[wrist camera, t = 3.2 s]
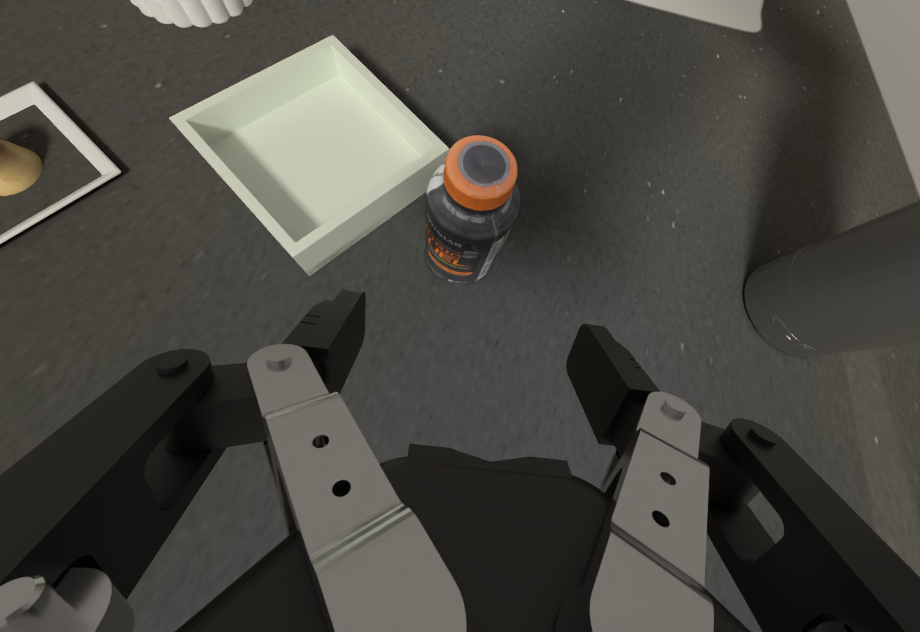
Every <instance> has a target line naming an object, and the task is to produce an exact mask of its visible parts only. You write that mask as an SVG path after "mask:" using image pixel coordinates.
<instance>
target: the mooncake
mask: <svg viewBox="0 0 920 632" xmlns="http://www.w3.org/2000/svg"><path fill="white" fill-rule="evenodd" d="M130 1H131V2H132V3H133V4H134V5H135V6H137V7H139V9H140V10H141V12H142V13H143V14H144V15H146V16H149V17H155V18H156V19H157V20H158V21H159V22H161V23H163V24H171V23H174V24H175V25H177V26H179V27H190V26H192V25H195V26H197V27H207V26H210V25H211V24H212V23H224V22H226V21H228V20H229V18H230V16H238V15H240V14H241V13H242V12H243V10H244V8H243V7H247V6H249V5H251V4H252V2H253V0H130Z"/></svg>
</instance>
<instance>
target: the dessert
mask: <svg viewBox="0 0 920 632" xmlns="http://www.w3.org/2000/svg"><path fill="white" fill-rule="evenodd" d="M31 105H36V106H37V107H38V108H39V109H40V110H41V111H42V112H43V113H44V114H45V115H46V116H47V117H48V118H49V119H50V120H51V122H52V123H53V124H54V125H55V126H56V127H57V128H58V129H59V130H60V131H61V132H62V133H63V134H64V135H65V136H66V137H67V138H68V139H69V140H70V141H71V142H72V143H73V145H74V146H75V147H76V148H77V149H78V150H79V151H80V152H81V153H82V154H83V155H84V156H85V157H86V158H87V159H88V160H89V161H90V162H91V163H92V164H93V165H94V166H95V168H96V169H97V170H98V171H99V172H100V173H101V174H102V176H101V177H99V178H98V179H96V180H94V181H93V182H91V183H89V184H87V185H86V186H84V187H82V188H81V189H79V190H77V191H75V192H74V193H72V194H70V195H69V196H67V197H65V198H63V199H62V200H60V201H58V202H57V203H55V204H53V205H51V206H50V207H48V208H46V209H45V210H43V211H41V212H39V213H38V214H36V215H34V216H33V217H31V218H29V219H27V220H26V221H24V222H22V223H20V224H19V225H17V226H15V227H14V228H12V229H10V230H8V231H7V232H5V233H3V234H2V235H0V244H2V243H3V242H5V241H7V240H8V239H10V238H12V237H13V236H15V235H17V234H19V233H20V232H22V231H24V230H25V229H27V228H29V227H30V226H32V225H34V224H35V223H37V222H39V221H41V220H42V219H44V218H46V217H47V216H49V215H51V214H52V213H54V212H56V211H58V210H59V209H61V208H63V207H64V206H66V205H68V204H69V203H71V202H73V201H74V200H76V199H78V198H80V197H81V196H83V195H85V194H86V193H88V192H90V191H91V190H93V189H95V188H97V187H98V186H100V185H102V184H103V183H105V182H107V181H108V180H110V179H112V178H113V177H115V176H117V175H119V174H120V173H121V170H120V169H119V168H118V167H117V166H116V165H115V164H114V163H113V162H112V161H111V160H110V159H109V158H108V157H107V156H106V155H105V154H104V153H103V152H102V151H101V150H100V149H99V148H98V147H97V146H96V145H95V143H94V142H93V141H92V140H91V139H90V138H89V137H88V136H87V135H86V134H85V133H84V132H83V131H82V130H81V129H80V128H79V127H78V126H77V125H76V124H75V123H74V122H73V121H72V120H71V119H70V118H69V117H68V116H67V115H66V113H65V112H64V111H63V110H62V109H61V108H60V107H59V106H58V105H57V104H56V103H55V102H54V101H53V100H52V99H51V98H50V97H49V96H48V95H47V94H46V93H45V92H44V91H43V90H42V89H41V88H40V87H39V86H38V85H37V83H36V82H34V81H32V82H30V83H28V84H26V85H24V86H22V87H19V88H17V89H15V90H13V91H11V92H9V93H7V94H5V95H3V96H1V97H0V120H2V119H5V118H7V117H9V116H11V115H13V114H15V113H17V112H19V111H21V110H23V109H25V108H27V107H29V106H31ZM41 171H42V162H41V159H40V158H39V156H38V155H37V154H36V153H35V152H33V151H31V150H29V149H26V148H24V147H21V146H18V145H16V144H13V143H11V142H8V141H6V140H4V139H1V138H0V196H7V195H12V194H16V193H19V192H21V191H23V190H25V189H27V188H28V187H30V186H31V185H32V184H33V183H34V182H35V181H36V180H37V179H38V178H39V176H40V174H41Z"/></svg>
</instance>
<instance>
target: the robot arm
mask: <svg viewBox="0 0 920 632" xmlns="http://www.w3.org/2000/svg"><path fill="white" fill-rule="evenodd" d="M744 295H745V304H746V308H747V312H748V314H749V316H750V319H751V321H752V323H753V324H754V326H755V327H756V329H757V330H758V332H759V333H760V334H761V335H762V336H763V337H764V338H765V339H766V340H767V341H768V342H769V343H770V344H772V345H773V346H774V347H776V348H777V349H779V350H781V351H783V352H785V353H788V354H791V355H794V356H800V357H809V356H817V355H825V354H834V353H842V352H851V351H859V350H869V349H877V348H885V347H893V346H902V345H910V344H918V343H920V200H919V201H917V202H914V203H912V204H910V205H907V206H905V207H902V208H900V209H897V210H895V211H892V212H890V213H888V214H885V215H883V216H880V217H878V218H875V219H873V220H871V221H868V222H866V223H863V224H861V225H858V226H856V227H853V228H851V229H849V230H846V231H844V232H841V233H839V234H836V235H834V236H831V237H829V238H827V239H824V240H822V241H819V242H817V243H814V244H812V245H809V246H807V247H804V248H802V249H799V250H797V251H794V252H792V253H790V254H787V255H785V256H782V257H780V258H777V259H775V260H772V261H770V262H768V263H765V264H763V265H761V266H759V267H758V268H756V269H755V270H754V271H753V272H752V273H751V274H750V275H749V277H748V280H747V282H746V285H745V291H744ZM365 301H366V298H365V292H362V291H355V290H348V289H342V290H341V291H340V293H339V294H338V295H337V297H336V298H335V299H334V301H328V300H324V301H323V302H321V303H319V304H317V305H315V306H313V307H312V308H311V309H310V311H309V312H308V313H307V314H306V316H305V317H304V318H303V319H302V320H301V323H299V324H298V325H297V326H296V327H295V328H294V330H293V331H292V332H291V333H290V334H289V336H288V337H287V338H286V339H285V340H284V342H283V343H282V344H277V345H272V346H268V347H265V348H262V349H260V350H258V351H257V352H255V353H254V354H253V355H252V356H251V357H250V358H249V360H248V362H247V363H241V364H229V365H216V366H211V362H210V358H209V356H208V355H207V354H206V353H204V352H202V351H199V350H193V349H180V350H173V351H168V352H165V353H161V354H158V355H156V356H153V357H151V358H149V359H147V360H145V361H144V362H142V363H141V364H140V365H138V366H137V367H136V368H135V369H133V370H132V371H131V372H130V373H128V374H127V375H126V376H125V377H123V378H122V379H121V380H120V381H118V382H117V383H116V384H115V385H113V386H112V387H111V388H109V389H108V390H107V391H106V392H104V393H103V394H102V395H101V396H99V397H98V398H97V399H96V400H94V401H93V402H92V403H91V404H89V405H88V406H87V407H86V408H84V409H83V410H82V411H81V412H79V413H78V414H77V415H76V416H74V417H73V418H72V419H71V420H69V421H68V422H67V423H65V424H64V425H63V426H62V427H60V428H59V429H58V430H57V431H55V432H54V433H53V434H52V435H50V436H49V437H48V438H47V439H45V440H44V441H43V442H42V443H40V444H39V445H38V446H37V447H35V448H34V449H33V450H32V451H30V452H29V453H28V454H27V455H25V456H24V457H23V458H21V459H20V460H19V461H18V462H16V463H15V464H14V465H13V466H11V467H10V468H9V469H8V470H6V471H5V472H4V473H3V474H1V475H0V632H133V627H134V613H133V609H132V607H131V606H130V605H129V603H128V602H127V601H126V600H127V598H128V597H129V595H130V594H131V592H132V590H133V589H134V587H135V586H136V584H137V583H138V581H139V580H140V578H141V577H142V575H143V574H144V572H145V571H146V569H147V568H148V566H149V565H150V563H151V562H152V560H153V559H154V557H155V556H156V554H157V553H158V551H159V549H160V548H161V546H162V545H163V543H164V542H165V540H166V539H167V537H168V536H169V534H170V533H171V531H172V530H173V528H174V527H175V525H176V524H177V522H178V521H179V519H180V518H181V516H182V515H183V513H184V512H185V510H186V508H187V507H188V505H189V504H190V502H191V501H192V499H193V498H194V496H195V495H196V493H197V492H198V490H199V489H200V487H201V486H202V484H203V483H204V481H205V480H206V478H207V477H208V475H209V474H210V472H211V471H212V469H213V467H214V466H215V464H216V463H217V461H218V460H219V458H220V457H221V455H222V454H223V452H224V451H225V449H226V448H227V447H231V446H237V445H243V444H250V443H256V442H263V446H264V449H265V453H266V457H267V460H268V464H269V467H270V471H271V474H272V478H273V481H274V485H275V488H276V492H277V495H278V499H279V503H280V507H281V512H282V516H283V520H284V524H285V528H286V531H287V535H288V537H287V538H285V539H284V540H283V541H282V542H281V543H279V544H278V545H277V546H276V547H275V548H274V549H272V550H271V551H270V552H269V553H268V554H266V555H265V556H264V557H263V558H262V559H260V560H259V561H258V562H257V563H256V564H255V565H253V566H252V567H251V568H250V569H249V570H247V571H246V572H245V573H244V574H243V575H242V576H240V577H239V578H238V579H237V580H236V581H234V582H233V583H232V584H231V585H230V586H229V587H227V588H226V589H225V590H224V591H223V592H221V593H220V594H219V595H218V596H217V597H215V598H214V599H213V600H212V601H211V602H210V603H208V604H207V605H206V606H205V607H204V608H202V609H201V610H200V611H199V612H198V613H197V614H195V615H194V616H193V617H192V618H191V619H189V620H188V621H187V622H186V623H185V624H183V625H182V626H181V627H180V628H179V629H178V630H176V631H175V632H750V631H749V630H748V629H747V628H746V627H745V626H744V625H743V624H742V623H741V622H740V621H739V620H738V619H737V618H735V617H734V616H733V615H732V614H731V613H730V612H729V611H728V610H727V609H726V608H725V607H724V606H723V605H722V604H721V603H720V602H719V601H718V600H717V599H716V598H715V597H714V596H713V595H712V594H710V593H709V592H708V591H707V590H706V589H705V584H704V579H705V557H706V535H707V534H708V536H709V537H710V539H711V541H712V543H713V545H714V546H715V548H716V550H717V552H718V553H719V555H720V557H721V559H722V560H723V562H724V564H725V566H726V567H727V569H728V571H729V573H730V575H731V576H732V578H733V580H734V582H735V583H736V585H737V587H738V589H739V590H740V592H741V594H742V596H743V598H744V599H745V601H746V603H747V605H748V606H749V608H750V610H751V612H752V613H753V615H754V617H755V619H756V620H757V622H758V624H759V626H760V628H761V629H762V631H763V632H920V577H919V576H918V575H917V574H916V573H915V572H914V571H913V570H912V569H911V568H910V567H909V566H908V565H907V564H906V563H905V562H904V561H903V560H902V559H901V558H900V557H899V556H898V555H897V554H896V553H895V552H894V551H893V550H892V549H891V548H890V547H889V546H888V545H887V544H886V543H885V542H884V541H883V540H882V539H881V538H880V537H879V536H878V535H877V534H876V533H875V532H874V531H873V530H872V529H871V528H870V527H869V526H868V525H867V524H866V523H865V522H864V521H863V520H862V519H861V518H860V517H859V516H858V515H857V514H856V513H855V512H854V511H853V510H852V508H851V507H850V506H849V505H848V504H847V503H846V502H845V501H844V500H843V499H842V498H841V497H840V496H839V495H838V494H837V493H836V492H835V491H834V490H833V489H832V488H831V487H830V486H829V485H828V484H827V483H826V482H825V481H824V480H823V479H822V478H821V477H820V476H819V475H818V474H817V473H816V472H815V471H814V470H813V469H812V468H811V467H810V466H809V465H808V464H807V463H806V462H805V461H804V460H803V459H802V458H801V457H800V456H799V455H798V454H797V453H796V452H795V451H794V450H793V449H792V448H791V447H790V446H789V445H788V444H787V443H786V442H785V441H784V440H783V439H782V438H781V437H779V436H778V435H777V434H775V433H774V432H772V431H771V430H769V429H768V428H766V427H764V426H762V425H760V424H758V423H755V422H753V421H750V420H746V419H740V418H738V419H734V420H732V421H731V423H730V424H729V425H728V426H727V428H726V429H722V428H719V427H716V426H713V425H710V424H707V423H704V422H701V419H700V416H699V415H698V413H697V412H696V411H695V410H694V409H693V408H692V407H691V406H690V405H689V404H687V403H686V402H685V401H683V400H681V399H680V398H678V397H676V396H673V395H671V394H668V393H664V392H660V391H659V390H658V388H657V387H656V386H655V384H654V383H653V382H652V380H651V379H650V378H649V377H648V375H647V374H646V373H645V371H644V370H643V369H641V366H640V365H639V364H638V362H636V361H635V358H634V357H633V356H632V355H631V353H630V352H629V351H628V350H627V349H626V348H625V347H623V346H622V345H621V344H619V343H618V342H617V341H615V339H614V338H613V337H612V335H611V334H610V333H609V331H608V330H607V329H606V328H605V327H603V326H596V325H589V324H583V325H582V326H581V327H580V329H579V331H578V333H577V336H576V338H575V341H574V343H573V346H572V348H571V351H570V353H569V356H568V359H567V366H566V367H567V373H568V376H569V378H570V380H571V383H572V385H573V387H574V389H575V391H576V394H577V396H578V398H579V400H580V403H581V405H582V407H583V409H584V412H585V414H586V416H587V418H588V421H589V423H590V425H591V427H592V430H593V432H594V434H595V436H596V439H597V441H598V443H599V444H603V445H612V446H615V447H616V451H615V453H614V454H613V456H612V458H611V460H610V463H609V465H608V468H607V470H606V473H605V475H604V478H603V480H602V483H601V485H600V488H599V489H598V488H597V487H595V486H594V485H592V484H590V483H588V482H587V481H585V480H583V479H580V478H578V477H576V476H573V475H571V472H570V469H569V466H568V463H567V461H565V460H555V459H546V458H537V457H523V458H516V459H509V460H502V461H494V462H491V461H486V460H483V459H480V458H477V457H474V456H471V455H468V454H466V453H463V452H460V451H457V450H454V449H451V448H445V447H435V446H426V445H417V444H410V445H409V451H408V457H401V458H396V459H392V460H389V461H386V462H384V463H381V464H379V463H378V461H377V459H376V458H375V456H374V454H373V452H372V451H371V449H370V447H369V445H368V444H367V442H366V440H365V438H364V437H363V435H362V433H361V431H360V430H359V428H358V426H357V424H356V423H355V421H354V419H353V417H352V416H351V414H350V412H349V410H348V408H347V407H346V405H345V403H344V401H343V400H342V398H341V396H340V395H339V394H340V392H341V390H342V388H343V385H344V383H345V381H346V379H347V377H348V375H349V372H350V370H351V368H352V366H353V364H354V362H355V359H356V357H357V355H358V353H359V351H360V348H361V346H362V343H363V339H364V334H365ZM760 491H761V493H762V494H763V495H764V496H765V498H766V499H767V500H768V501H769V503H770V504H771V505H772V507H773V508H774V509H775V510H776V512H777V513H778V514H779V516H780V517H781V519H782V521H783V524H784V536H783V537H782V539H781V540H780V541H778V542H777V543H776V544H775V543H774V541H773V540H772V538H771V537H770V536H769V534H768V533H767V532H766V530H765V529H764V527H763V526H762V525H761V523H760V522H759V520H758V519H757V518H756V516H755V515H754V513H753V512H752V511H751V509H750V508H749V506H748V505H747V504H748V503H749V502H750V501H751V500H752V499H753V498H754V497H755V496H756V495H757V494H758V493H759V492H760Z"/></svg>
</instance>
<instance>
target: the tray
mask: <svg viewBox="0 0 920 632" xmlns="http://www.w3.org/2000/svg"><path fill="white" fill-rule="evenodd" d="M169 119H170V120H171V121H172V122H173V123H174V124H175V125H176V127H177V128H178V129H179V130H180V131H181V132H182V133H183V135H184V136H185V137H186V138H187V139H188V140H189V141H190V142H191V144H192V145H193V146H194V147H195V148H196V149H197V150H198V152H199V153H200V154H201V155H202V156H203V157H204V158H205V159H206V161H207V162H208V163H209V164H210V165H211V166H212V167H213V168H214V170H215V171H216V172H217V173H218V174H219V175H220V176H221V177H222V179H223V180H224V181H225V182H226V183H227V184H228V185H229V186H230V188H231V189H232V190H233V191H234V192H235V193H236V194H237V195H238V197H239V198H240V199H241V200H242V201H243V202H244V203H245V204H246V206H247V207H248V208H249V209H250V210H251V211H252V212H253V213H254V215H255V216H256V217H257V218H258V219H259V220H260V221H261V222H262V224H263V225H264V226H265V227H266V228H267V229H268V230H269V232H270V233H271V234H272V235H273V236H274V237H275V238H276V239H277V241H278V242H279V243H280V244H281V245H282V246H283V247H284V248H285V250H286V251H287V252H288V253H289V254H290V255H291V256H292V257H293V259H294V260H295V261H296V262H297V263H298V264H299V265H300V266H301V268H302V269H303V270H304V271H305V272H306V273H307V274H308V275H309V276H311V275H312V274H313V273H315V272H316V271H317V270H319V269H320V268H322V267H323V266H324V265H326V264H327V263H328V262H330V261H331V260H333V259H334V258H335V257H337V256H338V255H340V254H341V253H342V252H344V251H345V250H346V249H348V248H349V247H351V246H352V245H353V244H355V243H356V242H357V241H359V240H360V239H362V238H363V237H364V236H366V235H367V234H369V233H370V232H371V231H373V230H374V229H375V228H377V227H378V226H380V225H381V224H382V223H384V222H385V221H387V220H388V219H389V218H391V217H392V216H393V215H395V214H396V213H398V212H399V211H400V210H402V209H403V208H404V207H406V206H407V205H409V204H410V203H411V202H413V201H414V200H416V199H417V198H418V197H420V196H421V195H422V194H424V193H425V192H427V188H428V184H429V181H430V179H431V177H432V175H433V174H434V172H435V171H436V170H437V169H438V168H439V166H440V165H442V164H443V163H445V160H446V156H447V153H448V151H449V148H448V147H447V146H446V145H445V144H444V143H443V142H442V141H441V140H440V139H439V138H438V137H437V136H436V135H435V134H434V133H433V132H432V131H431V130H430V129H429V128H428V127H427V126H426V125H425V124H424V123H422V122H421V121H420V120H419V119H418V118H417V117H416V116H415V115H414V114H413V113H412V112H411V111H410V110H409V109H408V108H407V107H406V106H405V105H404V104H403V103H402V102H401V101H400V100H399V99H398V98H397V97H396V96H395V95H394V94H393V93H392V92H391V91H390V90H389V89H388V88H387V87H386V86H385V85H384V84H383V83H382V82H380V81H379V80H378V79H377V78H376V77H375V76H374V75H373V74H372V73H371V72H370V71H369V70H368V69H367V68H366V67H365V66H364V65H363V64H362V63H361V62H360V61H359V60H358V59H357V58H356V57H355V56H354V55H353V54H352V53H351V52H350V51H349V50H348V49H347V48H346V47H345V46H344V45H343V44H342V43H341V42H340V41H339V40H337V39H336V38H335V37H334V36H333V35H332V36H330V37H328V38H326V39H324V40H322V41H320V42H318V43H316V44H314V45H312V46H310V47H308V48H306V49H304V50H302V51H300V52H298V53H296V54H294V55H292V56H290V57H288V58H286V59H284V60H282V61H280V62H278V63H276V64H274V65H272V66H270V67H268V68H266V69H265V70H263V71H261V72H259V73H257V74H255V75H253V76H251V77H249V78H247V79H245V80H243V81H241V82H239V83H237V84H235V85H233V86H231V87H229V88H227V89H225V90H223V91H221V92H219V93H217V94H215V95H213V96H211V97H209V98H207V99H205V100H203V101H201V102H199V103H197V104H195V105H193V106H192V107H190V108H188V109H186V110H184V111H182V112H180V113H178V114H176V115H174V116H172V117H170V118H169Z"/></svg>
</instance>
